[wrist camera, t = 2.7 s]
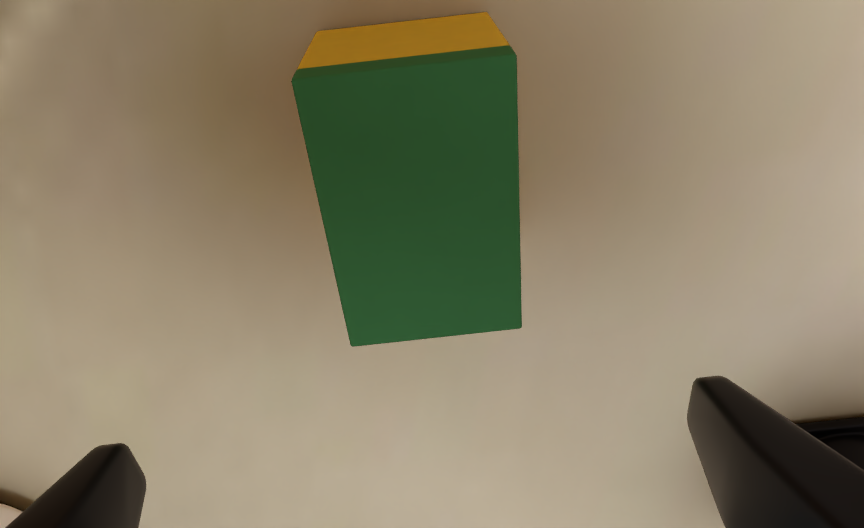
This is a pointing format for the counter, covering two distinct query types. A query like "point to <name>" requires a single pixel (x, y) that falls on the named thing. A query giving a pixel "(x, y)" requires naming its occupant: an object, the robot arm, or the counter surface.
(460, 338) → the counter surface
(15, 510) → the beverage can
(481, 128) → the sponge
